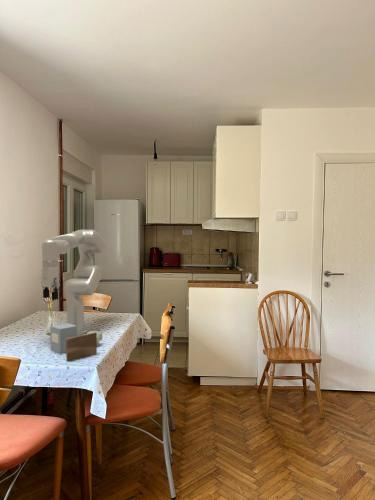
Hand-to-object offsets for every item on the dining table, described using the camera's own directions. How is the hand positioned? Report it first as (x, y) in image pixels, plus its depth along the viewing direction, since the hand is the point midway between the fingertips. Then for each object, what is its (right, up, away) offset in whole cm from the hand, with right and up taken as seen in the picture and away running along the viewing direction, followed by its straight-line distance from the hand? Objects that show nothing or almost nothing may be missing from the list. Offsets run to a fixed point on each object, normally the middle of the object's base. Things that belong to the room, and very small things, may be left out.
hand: (50, 298), depth 186 cm
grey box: (+10, -24, -8) cm, 27 cm away
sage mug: (+23, -24, 0) cm, 33 cm away
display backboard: (+22, -24, -19) cm, 38 cm away
